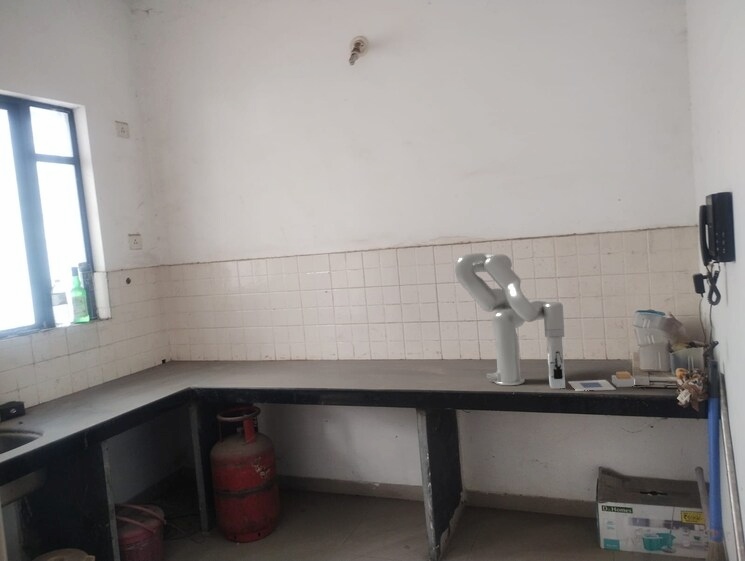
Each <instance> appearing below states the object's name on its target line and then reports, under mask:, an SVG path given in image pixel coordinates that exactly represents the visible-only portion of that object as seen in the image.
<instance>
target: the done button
mask: <svg viewBox="0 0 745 561" xmlns="http://www.w3.org/2000/svg"><path fill="white" fill-rule="evenodd" d="M615 375H616V377H617V378H618V379H628V378H631V376H632V375H631V373H630V372H628V370H627V371H626V370H625V371H615ZM630 375H631V376H630Z"/></svg>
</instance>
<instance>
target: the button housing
mask: <svg viewBox="0 0 745 561" xmlns="http://www.w3.org/2000/svg"><path fill="white" fill-rule="evenodd" d="M630 376H631V378H628V379H618V378H617V377H616V374H612V375H611V383H612V385H613V386H615V388H616V387H617V388H628V387H631V388H632V386H633V387H635V386H634V379H633V377H634V376H632V375H631V374H630Z"/></svg>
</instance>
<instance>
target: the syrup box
mask: <svg viewBox="0 0 745 561" xmlns="http://www.w3.org/2000/svg"><path fill="white" fill-rule="evenodd" d="M561 360H562V359H561ZM555 361H557V360H555ZM564 363H565V362H564V359H563V361H562V362H561V365H562V379H554V361H552V362H550V354H549V353H548V358H547V365H548V366H547V367H548V368H547V369H548V383H549V387H550V389H552V390H556V389H557V390H558V389H560V388H561V390H562V388H565V389H566V379H565V378H566V376H565V364H564ZM556 364H557V363H556Z"/></svg>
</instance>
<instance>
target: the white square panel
mask: <svg viewBox="0 0 745 561" xmlns="http://www.w3.org/2000/svg"><path fill="white" fill-rule="evenodd" d="M567 383H568V384H569V385H570V386H571V387H572V389H573V388H574V389H575V390H574V389H573V390H574V391H575V392H588V391H589V390H594V391H610V390H611V391H613V390H614V391H615V390H617V388H616V387H614V385H613V384H611V383H610V382H609V381H608V380H606V379H597V380H596V379H594V380H592V379H591V380H569V381H567ZM584 390H585V391H584ZM587 390H588V391H587Z"/></svg>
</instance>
